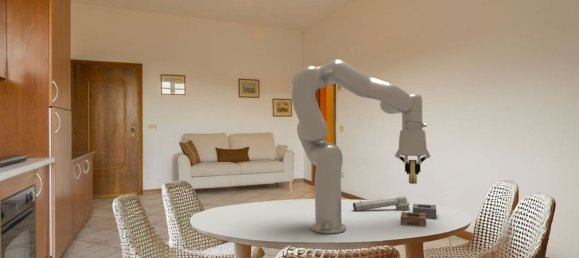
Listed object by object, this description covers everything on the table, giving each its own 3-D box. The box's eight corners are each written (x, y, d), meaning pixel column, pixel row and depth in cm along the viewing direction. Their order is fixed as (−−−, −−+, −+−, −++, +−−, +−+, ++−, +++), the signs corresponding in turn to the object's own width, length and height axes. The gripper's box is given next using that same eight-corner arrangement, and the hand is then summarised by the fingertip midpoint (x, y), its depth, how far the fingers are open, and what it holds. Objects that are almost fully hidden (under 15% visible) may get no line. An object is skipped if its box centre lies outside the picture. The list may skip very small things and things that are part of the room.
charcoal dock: (436, 219, 147) (436, 209, 147) (412, 217, 150) (412, 207, 150) (435, 214, 156) (435, 204, 156) (413, 213, 159) (413, 203, 159)
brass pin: (416, 183, 141) (416, 160, 141) (408, 183, 142) (408, 160, 142) (416, 182, 143) (416, 159, 143) (408, 182, 144) (408, 159, 145)
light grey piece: (352, 201, 168) (405, 192, 169) (354, 215, 168) (407, 207, 169) (354, 203, 162) (409, 194, 163) (356, 218, 162) (411, 209, 163)
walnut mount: (425, 226, 137) (425, 218, 137) (400, 224, 140) (400, 216, 140) (425, 220, 145) (425, 213, 145) (402, 219, 148) (401, 211, 148)
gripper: (434, 126, 143) (435, 173, 143) (391, 126, 149) (391, 172, 149) (435, 126, 136) (435, 175, 136) (389, 126, 142) (390, 174, 142)
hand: (412, 173), depth 143 cm, fingers closed on brass pin, 3 cm apart
